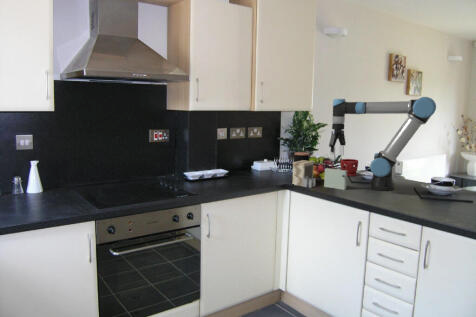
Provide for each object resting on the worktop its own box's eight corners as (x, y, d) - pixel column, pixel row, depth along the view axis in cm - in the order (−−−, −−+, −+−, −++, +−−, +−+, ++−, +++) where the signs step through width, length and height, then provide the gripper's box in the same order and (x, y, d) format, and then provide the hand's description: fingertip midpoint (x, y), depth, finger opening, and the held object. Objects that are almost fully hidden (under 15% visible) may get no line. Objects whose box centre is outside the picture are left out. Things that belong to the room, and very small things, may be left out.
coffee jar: (309, 179, 284) (310, 154, 282) (294, 178, 284) (295, 154, 282) (307, 176, 295) (308, 152, 292) (292, 175, 295) (293, 152, 292)
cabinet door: (346, 189, 253) (347, 170, 251) (343, 190, 250) (344, 171, 248) (326, 186, 261) (326, 168, 260) (323, 186, 258) (324, 168, 256)
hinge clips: (315, 186, 260) (315, 177, 259) (310, 187, 255) (311, 178, 254) (306, 184, 263) (307, 176, 262) (302, 186, 258) (302, 177, 258)
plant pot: (346, 173, 312) (347, 158, 310) (360, 175, 302) (361, 160, 300) (336, 174, 304) (337, 159, 302) (350, 177, 294) (351, 161, 292)
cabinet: (313, 183, 270) (314, 161, 268) (303, 186, 258) (304, 163, 256) (302, 181, 275) (302, 160, 273) (291, 184, 264) (292, 162, 261)
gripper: (340, 122, 263) (339, 153, 265) (324, 123, 243) (323, 157, 246) (351, 122, 258) (350, 154, 261) (335, 124, 239) (334, 158, 241)
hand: (337, 156), depth 253 cm, fingers open, 13 cm apart
